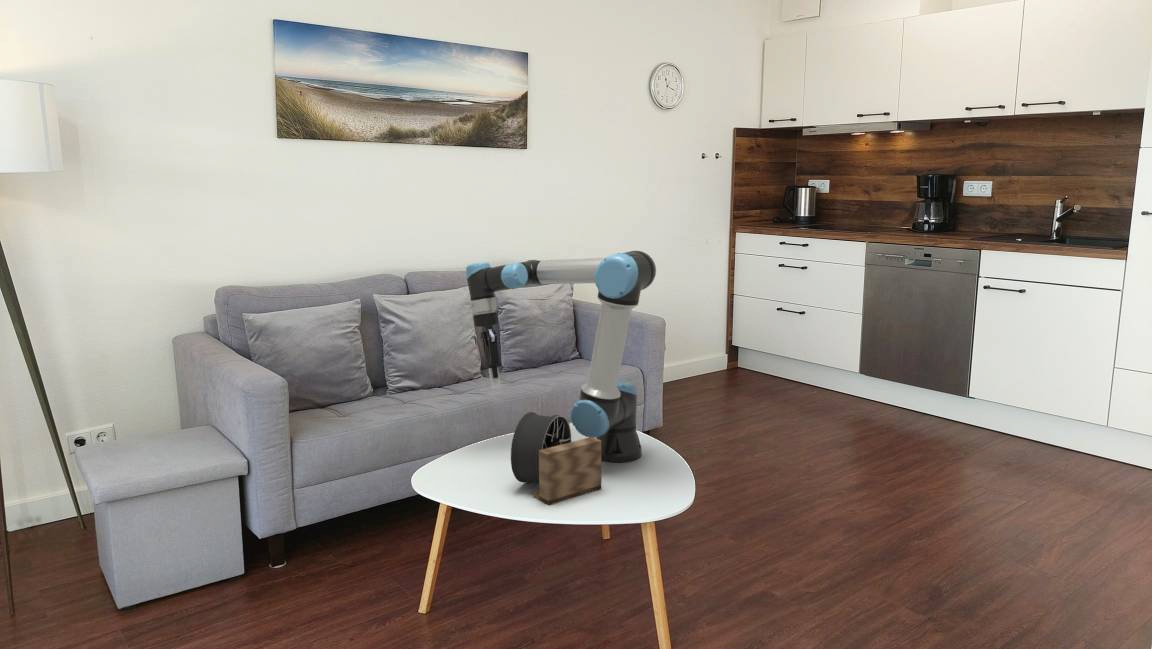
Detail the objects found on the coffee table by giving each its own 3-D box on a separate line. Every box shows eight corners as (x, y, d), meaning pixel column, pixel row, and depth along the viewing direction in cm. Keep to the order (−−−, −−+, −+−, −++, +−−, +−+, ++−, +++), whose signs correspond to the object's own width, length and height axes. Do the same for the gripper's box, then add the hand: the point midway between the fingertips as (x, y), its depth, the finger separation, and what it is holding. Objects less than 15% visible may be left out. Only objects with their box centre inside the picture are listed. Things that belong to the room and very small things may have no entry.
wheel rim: (541, 498, 220) (540, 426, 216) (511, 493, 224) (509, 422, 220) (571, 473, 238) (571, 407, 234) (543, 469, 242) (542, 403, 238)
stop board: (585, 481, 231) (585, 434, 229) (601, 489, 226) (601, 440, 224) (533, 497, 221) (532, 447, 218) (548, 505, 215) (547, 454, 213)
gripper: (469, 315, 258) (480, 389, 258) (477, 314, 245) (489, 391, 246) (492, 311, 260) (503, 385, 261) (501, 310, 248) (513, 387, 248)
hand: (496, 388), depth 253 cm, fingers closed
